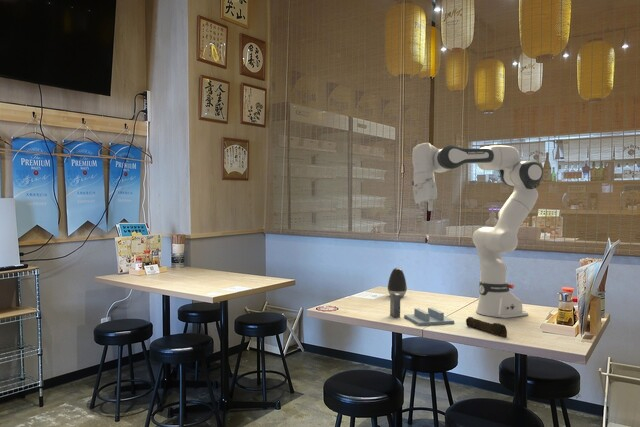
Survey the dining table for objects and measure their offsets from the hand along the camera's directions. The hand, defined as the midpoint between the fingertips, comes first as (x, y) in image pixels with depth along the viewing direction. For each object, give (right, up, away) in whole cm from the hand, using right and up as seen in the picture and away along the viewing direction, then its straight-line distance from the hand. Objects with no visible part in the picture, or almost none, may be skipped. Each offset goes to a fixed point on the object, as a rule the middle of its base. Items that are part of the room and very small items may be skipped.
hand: (426, 211), depth 207 cm
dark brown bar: (+19, -47, -21) cm, 55 cm away
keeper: (0, -46, -5) cm, 46 cm away
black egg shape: (-5, -45, +46) cm, 65 cm away
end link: (-13, -46, +2) cm, 48 cm away
